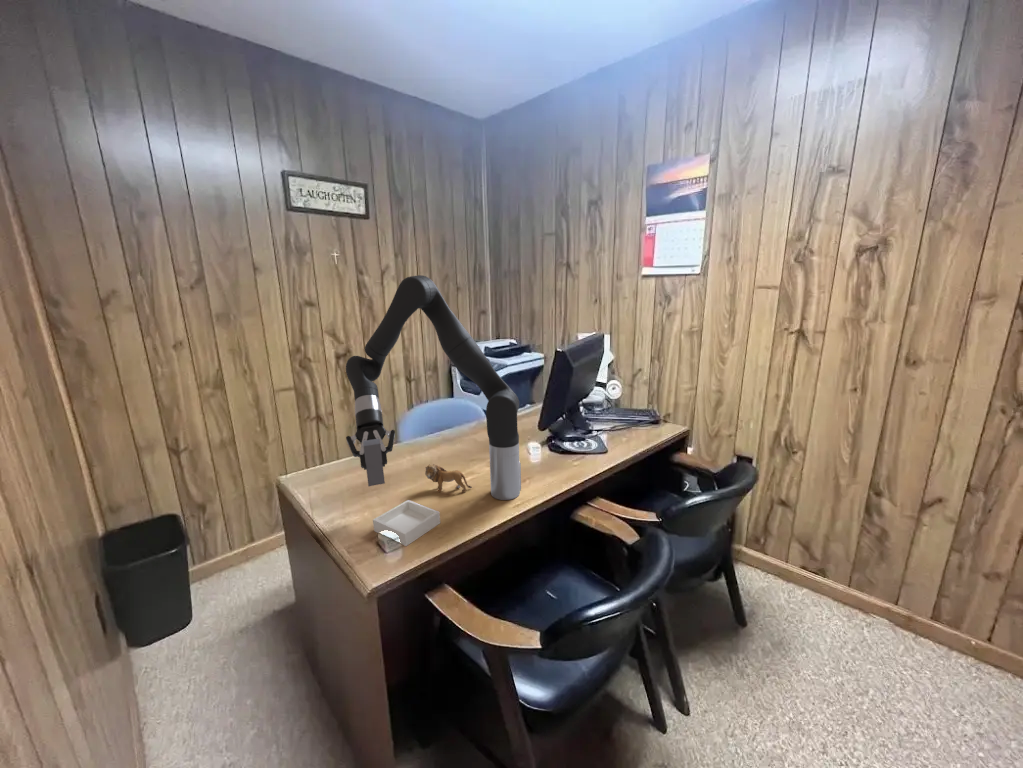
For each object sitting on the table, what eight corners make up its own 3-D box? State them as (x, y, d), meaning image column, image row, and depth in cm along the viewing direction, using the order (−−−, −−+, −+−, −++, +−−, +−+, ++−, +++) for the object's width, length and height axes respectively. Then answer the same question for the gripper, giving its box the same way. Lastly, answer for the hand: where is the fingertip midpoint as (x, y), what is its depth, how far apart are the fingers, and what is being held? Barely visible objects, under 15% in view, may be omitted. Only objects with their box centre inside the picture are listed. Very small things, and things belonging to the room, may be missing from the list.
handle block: (383, 477, 123) (379, 438, 120) (384, 483, 119) (380, 443, 116) (368, 479, 121) (363, 440, 119) (368, 486, 117) (363, 446, 115)
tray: (409, 510, 125) (408, 499, 124) (440, 523, 118) (439, 511, 117) (374, 531, 114) (372, 519, 114) (406, 546, 107) (404, 534, 107)
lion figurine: (425, 494, 134) (423, 468, 132) (427, 486, 139) (426, 461, 137) (471, 492, 134) (470, 466, 132) (472, 484, 140) (471, 459, 137)
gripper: (341, 410, 120) (346, 466, 112) (393, 404, 125) (400, 457, 116) (344, 423, 126) (348, 476, 118) (393, 416, 131) (400, 467, 122)
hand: (374, 466), depth 117 cm, fingers closed on handle block, 4 cm apart
